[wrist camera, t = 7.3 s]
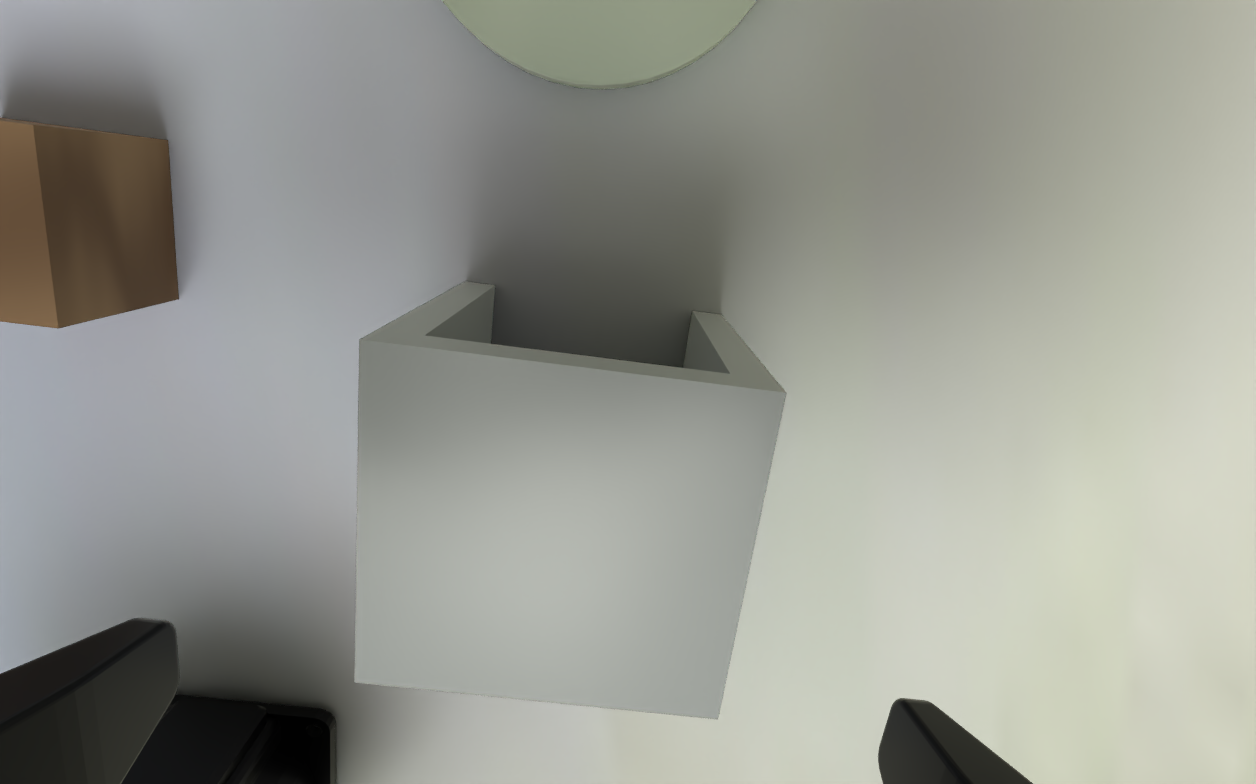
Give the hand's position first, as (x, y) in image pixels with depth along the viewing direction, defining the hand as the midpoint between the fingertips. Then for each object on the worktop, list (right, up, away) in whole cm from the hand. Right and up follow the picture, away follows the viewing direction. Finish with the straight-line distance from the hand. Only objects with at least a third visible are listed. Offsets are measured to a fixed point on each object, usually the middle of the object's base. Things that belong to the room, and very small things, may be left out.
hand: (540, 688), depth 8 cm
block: (-13, +8, +9) cm, 17 cm away
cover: (0, +3, +10) cm, 11 cm away
